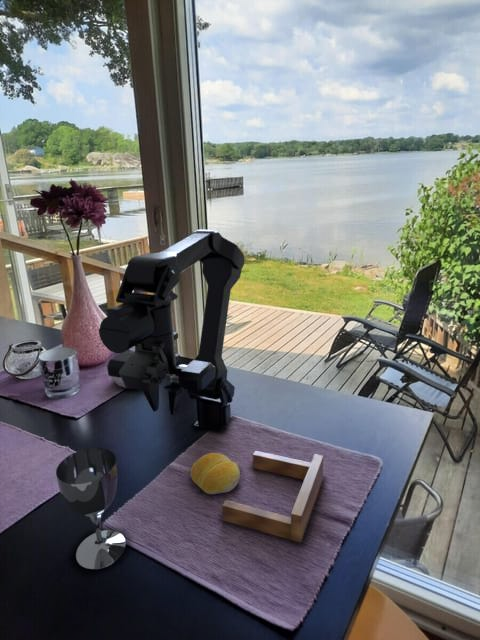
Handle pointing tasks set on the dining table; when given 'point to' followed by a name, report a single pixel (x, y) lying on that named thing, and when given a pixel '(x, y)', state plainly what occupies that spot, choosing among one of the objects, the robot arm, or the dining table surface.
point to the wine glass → (92, 502)
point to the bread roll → (215, 473)
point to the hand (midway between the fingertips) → (164, 412)
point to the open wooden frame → (303, 506)
